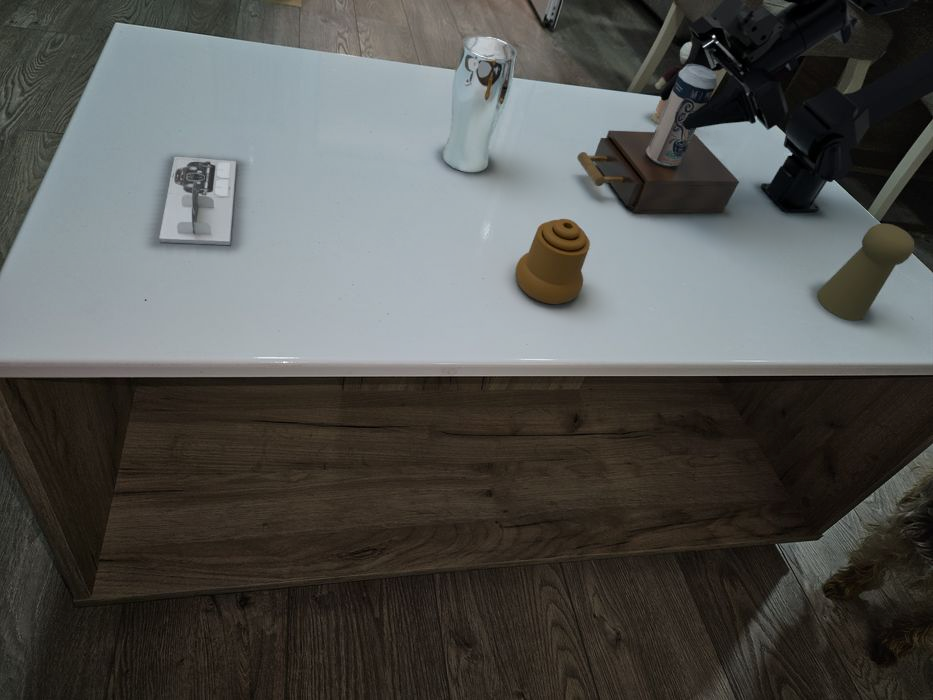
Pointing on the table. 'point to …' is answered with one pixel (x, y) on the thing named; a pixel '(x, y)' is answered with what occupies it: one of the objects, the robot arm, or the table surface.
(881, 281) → the game pawn
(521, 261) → the ornamental finial
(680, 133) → the beer can
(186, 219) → the white flat box
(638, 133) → the cabinet
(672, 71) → the grandmother figurine
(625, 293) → the table surface
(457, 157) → the beer glass
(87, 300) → the table surface
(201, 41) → the table surface
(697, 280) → the table surface
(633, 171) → the drawer
